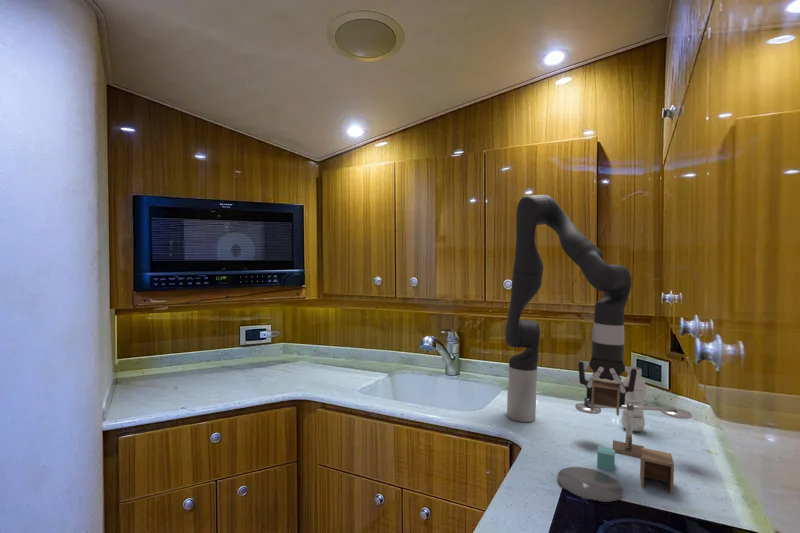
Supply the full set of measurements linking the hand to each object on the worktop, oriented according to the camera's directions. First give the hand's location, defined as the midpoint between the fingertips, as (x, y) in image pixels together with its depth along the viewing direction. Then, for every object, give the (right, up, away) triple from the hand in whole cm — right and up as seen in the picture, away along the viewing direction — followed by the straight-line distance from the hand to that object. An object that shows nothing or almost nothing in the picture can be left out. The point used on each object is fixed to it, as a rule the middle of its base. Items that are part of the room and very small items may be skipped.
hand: (605, 403), depth 110 cm
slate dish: (-9, -16, -10) cm, 21 cm away
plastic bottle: (+21, -17, +24) cm, 36 cm away
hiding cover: (0, -2, 0) cm, 2 cm away
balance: (+11, -17, +9) cm, 22 cm away
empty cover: (+8, -17, -9) cm, 21 cm away
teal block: (0, -17, 0) cm, 17 cm away
